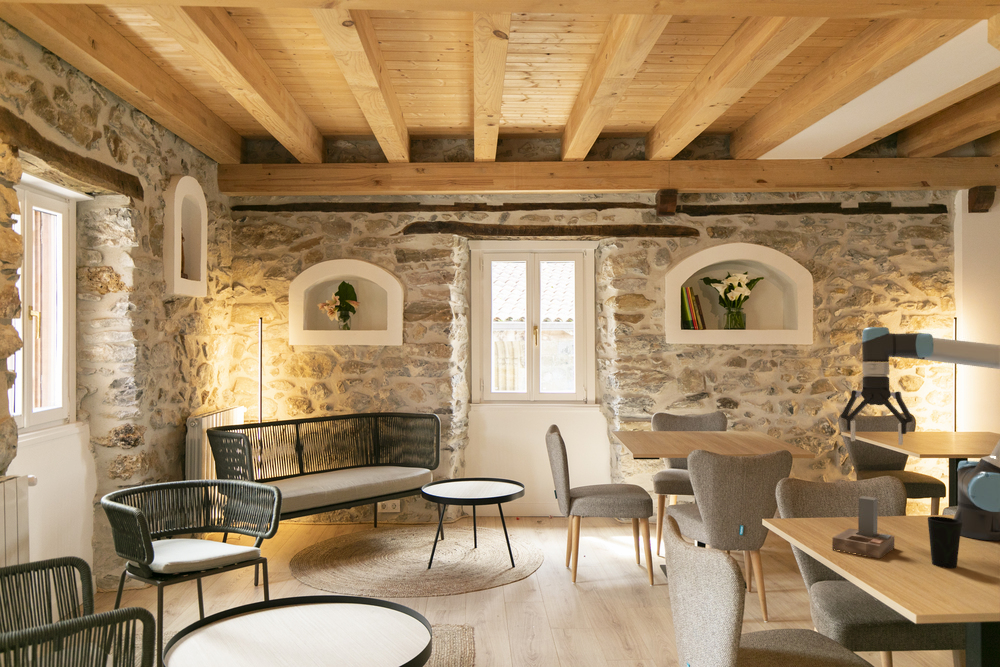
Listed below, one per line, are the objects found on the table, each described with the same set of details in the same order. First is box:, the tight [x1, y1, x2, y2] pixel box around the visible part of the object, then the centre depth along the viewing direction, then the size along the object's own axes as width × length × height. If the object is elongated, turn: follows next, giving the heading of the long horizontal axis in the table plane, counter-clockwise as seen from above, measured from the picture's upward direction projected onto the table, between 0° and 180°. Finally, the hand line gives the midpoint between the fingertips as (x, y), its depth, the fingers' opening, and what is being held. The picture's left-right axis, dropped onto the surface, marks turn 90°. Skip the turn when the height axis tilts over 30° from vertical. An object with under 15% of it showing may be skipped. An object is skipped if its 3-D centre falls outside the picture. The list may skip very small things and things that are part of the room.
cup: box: [927, 516, 962, 569], centre depth 187 cm, size 8×8×12 cm
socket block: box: [831, 527, 895, 559], centre depth 201 cm, size 12×16×4 cm
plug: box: [857, 495, 879, 538], centre depth 204 cm, size 4×4×14 cm
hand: (876, 442), depth 222 cm, fingers open, 13 cm apart
